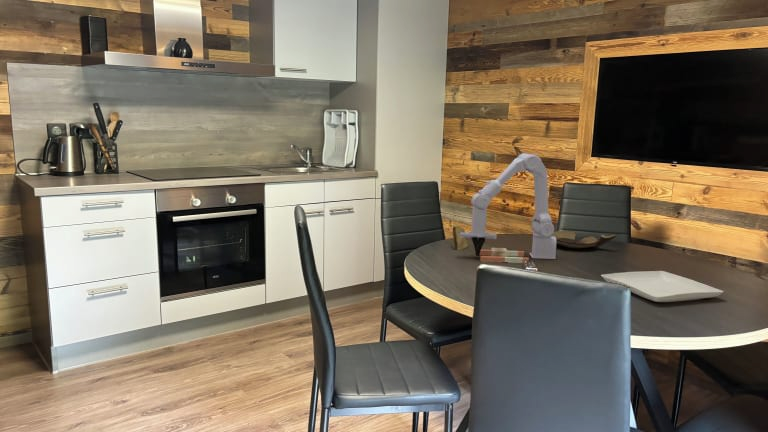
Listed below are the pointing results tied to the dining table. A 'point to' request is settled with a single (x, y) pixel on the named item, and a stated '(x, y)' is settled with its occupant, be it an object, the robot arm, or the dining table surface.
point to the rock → (459, 238)
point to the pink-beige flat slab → (503, 259)
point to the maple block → (499, 252)
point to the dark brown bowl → (569, 238)
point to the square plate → (662, 286)
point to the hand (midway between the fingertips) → (477, 255)
